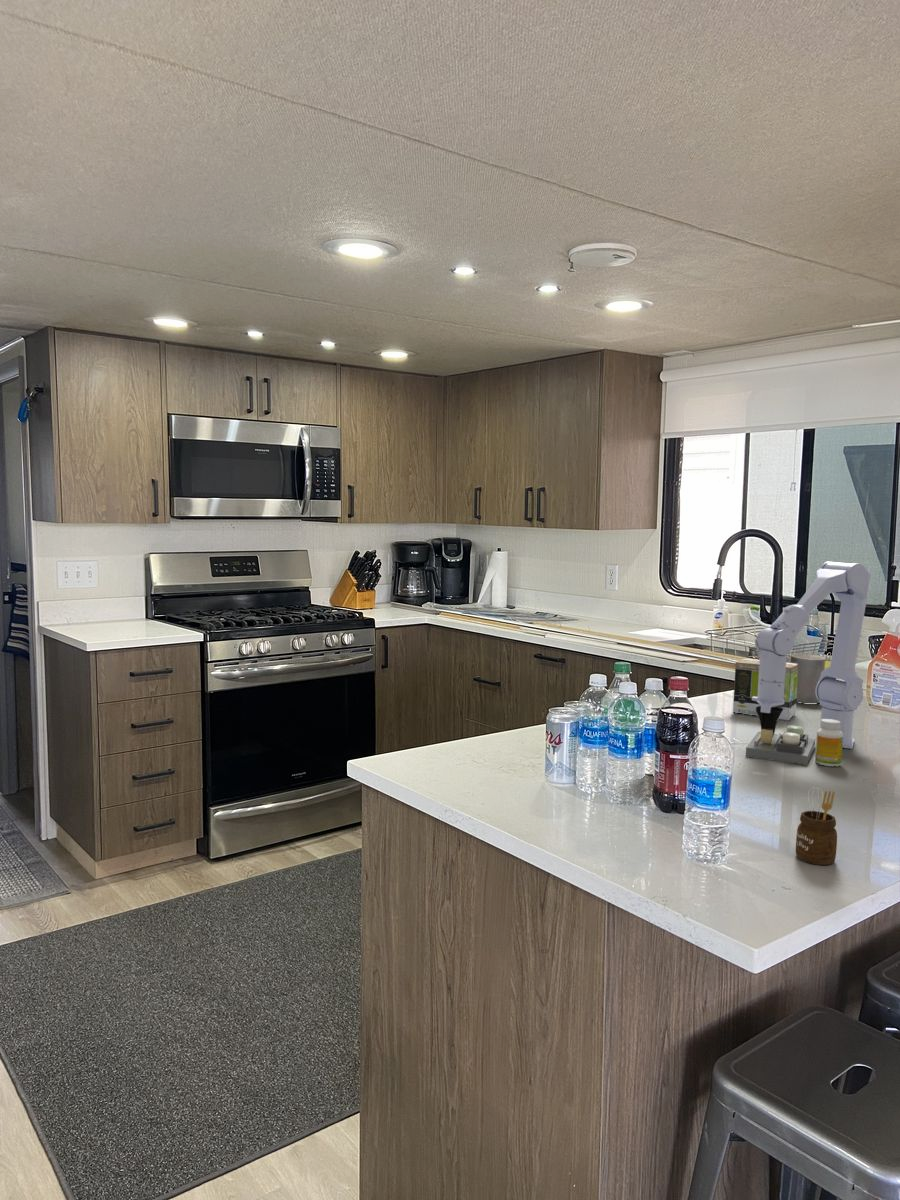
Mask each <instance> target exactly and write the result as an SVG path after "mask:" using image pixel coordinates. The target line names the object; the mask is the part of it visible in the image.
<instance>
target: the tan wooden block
mask: <svg viewBox="0 0 900 1200" xmlns="http://www.w3.org/2000/svg"><path fill="white" fill-rule="evenodd" d="M760 732H761V738H760V742H765V743H772V738H773V729H770V728H763V727H762V728H761V727H760Z"/></svg>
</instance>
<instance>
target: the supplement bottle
mask: <svg viewBox="0 0 900 1200" xmlns="http://www.w3.org/2000/svg"><path fill="white" fill-rule="evenodd" d="M820 724H821V727H822V728H821V729H820V728H819V729H818V730H817V732H816V739H815V755H814V756H815V760H814V761H815V763H816V764H818V765H820V766H823V765H824V766H825V767H831V766H832V767H831V768H833V766H836V767H840V766H841V765H842V760H843V759H842V758H843V757H842V756H843V748H842V746H843V733H842V732H841V731H839V728H840V721H838V720H833V719H822V720H821V719H820Z"/></svg>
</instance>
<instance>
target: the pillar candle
mask: <svg viewBox="0 0 900 1200" xmlns="http://www.w3.org/2000/svg"><path fill="white" fill-rule="evenodd" d="M826 659H827V658H826V657H824V656H821V655H817V654H810V653H809V652H808V651H807V654H806V653H793V654H791V656H790V663H797V664H798V682H797V701H796V702H801V703H820V701H819V700H818V699H817V697H816V694H815V688H816V685H817V683H818V681H819V679H820V676H821V672H822V671H824V670H825V669H826V668H825V666H826Z"/></svg>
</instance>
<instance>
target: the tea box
mask: <svg viewBox="0 0 900 1200" xmlns="http://www.w3.org/2000/svg"><path fill="white" fill-rule="evenodd" d="M759 665H760V659H755V658H753V659H752V658H743V659H742V658H741V659H740V660H737V661H735V667H734V687H733V703H732V704H733V708H732V713H733V712H735V713H734V714H737V713H743V714H742V715H744V714H751V715H750V716H752V715H757V716H756V717H759V716H758V714H757V712H756V707H757V706H761V705H760V704H759V703H758V702H757V701H753V700H752V697H753V696H755V697H757V695H758V680H759ZM797 682H798V664H797V663H791V662H787V661H786V670H785V684H784V698H783V700H784V704H783V705H779V706H775V707H782V708H783V711H782V713H781V714H780V716H779V719H778V720H784V721H789V720H791V719H792V718H793V717H795V716H796V710H797V703H796V701H797ZM794 715H795V716H794ZM792 716H793V717H792ZM791 717H792V718H791ZM790 718H791V719H790Z"/></svg>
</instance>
